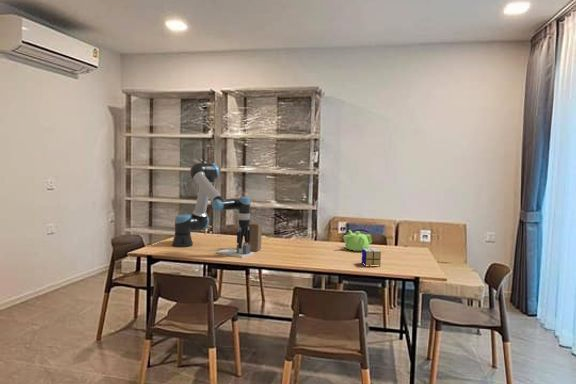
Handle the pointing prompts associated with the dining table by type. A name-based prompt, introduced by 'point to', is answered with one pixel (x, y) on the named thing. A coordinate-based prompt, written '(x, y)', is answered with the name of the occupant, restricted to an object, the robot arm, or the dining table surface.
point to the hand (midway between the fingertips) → (243, 252)
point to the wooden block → (255, 236)
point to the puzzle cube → (371, 256)
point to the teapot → (357, 241)
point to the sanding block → (244, 249)
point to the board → (233, 253)
